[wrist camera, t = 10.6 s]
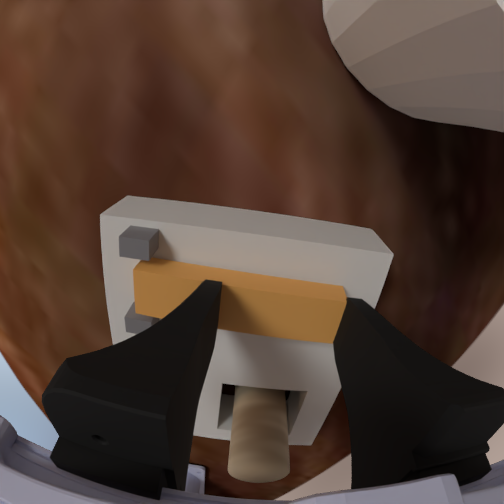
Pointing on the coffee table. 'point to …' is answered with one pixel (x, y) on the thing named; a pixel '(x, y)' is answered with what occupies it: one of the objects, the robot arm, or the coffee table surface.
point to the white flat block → (252, 261)
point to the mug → (426, 56)
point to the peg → (259, 435)
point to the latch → (244, 299)
